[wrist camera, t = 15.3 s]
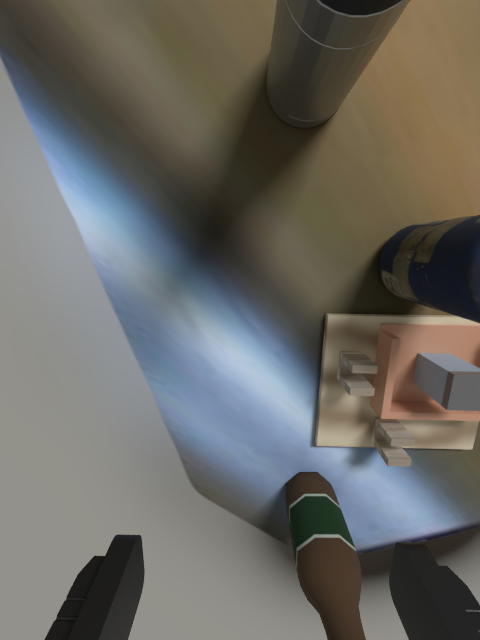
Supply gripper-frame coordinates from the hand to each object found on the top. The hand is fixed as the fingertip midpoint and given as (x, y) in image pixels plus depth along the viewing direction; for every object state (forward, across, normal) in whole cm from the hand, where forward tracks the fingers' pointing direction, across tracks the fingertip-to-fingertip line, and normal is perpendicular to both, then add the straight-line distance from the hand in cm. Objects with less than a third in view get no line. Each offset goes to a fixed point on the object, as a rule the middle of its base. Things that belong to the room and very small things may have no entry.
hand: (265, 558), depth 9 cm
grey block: (+30, -25, +6) cm, 40 cm away
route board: (+32, -22, +9) cm, 40 cm away
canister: (+32, -21, -8) cm, 39 cm away
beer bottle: (+32, -10, +28) cm, 44 cm away
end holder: (+31, -25, +6) cm, 40 cm away
